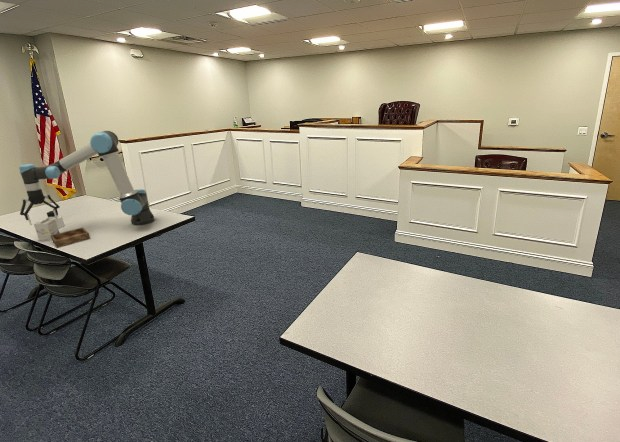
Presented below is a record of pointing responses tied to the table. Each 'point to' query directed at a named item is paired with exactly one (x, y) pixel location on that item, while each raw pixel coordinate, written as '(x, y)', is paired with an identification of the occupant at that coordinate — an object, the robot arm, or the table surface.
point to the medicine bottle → (59, 221)
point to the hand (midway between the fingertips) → (44, 221)
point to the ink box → (46, 229)
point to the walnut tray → (70, 237)
